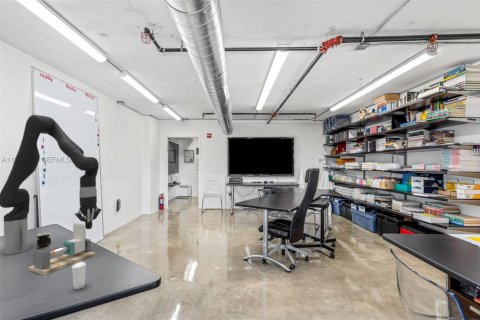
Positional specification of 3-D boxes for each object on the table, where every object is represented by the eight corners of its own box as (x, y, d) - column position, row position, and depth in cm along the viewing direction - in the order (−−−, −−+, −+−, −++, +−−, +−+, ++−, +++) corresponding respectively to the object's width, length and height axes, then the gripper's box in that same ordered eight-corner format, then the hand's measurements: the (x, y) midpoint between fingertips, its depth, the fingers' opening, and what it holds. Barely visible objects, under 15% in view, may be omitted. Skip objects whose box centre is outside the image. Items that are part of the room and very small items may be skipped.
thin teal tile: (66, 252, 114) (65, 240, 114) (74, 254, 112) (73, 242, 112) (63, 253, 113) (63, 241, 113) (71, 255, 111) (71, 243, 111)
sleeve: (76, 248, 120) (76, 223, 120) (86, 250, 117) (85, 224, 117) (66, 252, 115) (65, 226, 115) (75, 254, 112) (75, 227, 112)
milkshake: (74, 284, 91) (74, 258, 90) (89, 283, 91) (88, 257, 91) (66, 291, 86) (66, 263, 86) (82, 290, 86) (81, 263, 86)
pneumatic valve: (37, 259, 114) (36, 235, 114) (36, 252, 123) (36, 230, 123) (52, 256, 118) (51, 232, 118) (50, 250, 127) (49, 227, 127)
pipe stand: (79, 251, 123) (79, 235, 123) (95, 255, 119) (95, 238, 119) (28, 270, 103) (28, 251, 103) (45, 275, 98) (44, 254, 98)
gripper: (95, 193, 129) (96, 224, 129) (70, 197, 117) (70, 231, 117) (105, 193, 127) (105, 226, 127) (80, 197, 114) (80, 233, 114)
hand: (88, 228), depth 122 cm, fingers closed
